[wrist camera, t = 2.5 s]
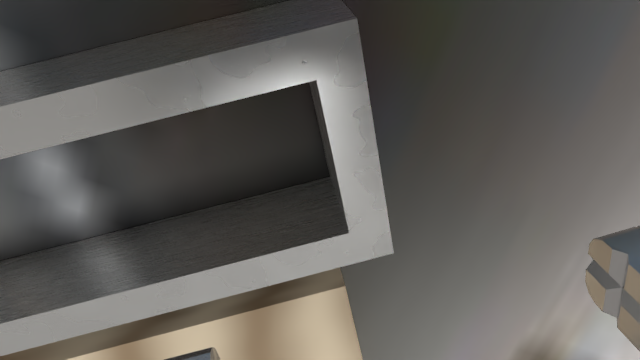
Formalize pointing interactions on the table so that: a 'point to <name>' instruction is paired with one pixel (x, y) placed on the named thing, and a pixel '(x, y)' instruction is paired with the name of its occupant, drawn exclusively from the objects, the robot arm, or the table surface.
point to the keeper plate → (230, 328)
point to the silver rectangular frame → (211, 223)
